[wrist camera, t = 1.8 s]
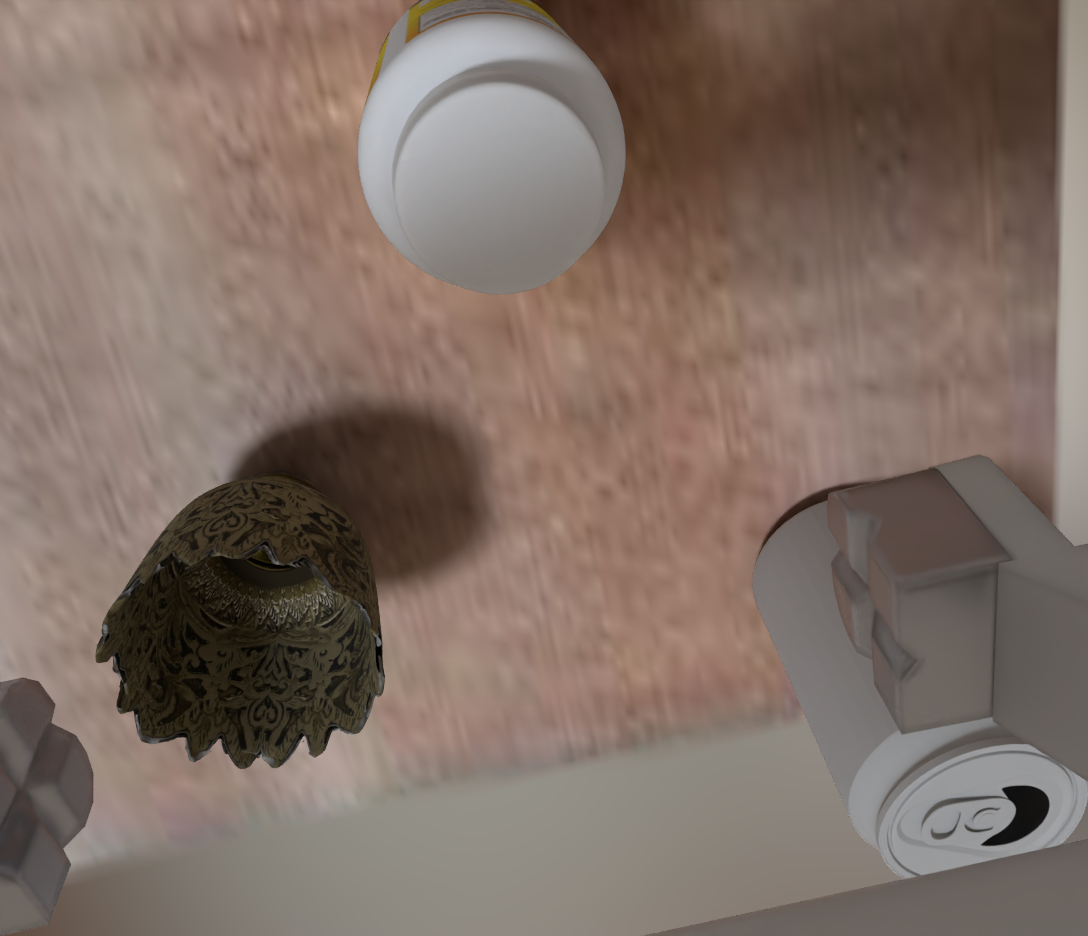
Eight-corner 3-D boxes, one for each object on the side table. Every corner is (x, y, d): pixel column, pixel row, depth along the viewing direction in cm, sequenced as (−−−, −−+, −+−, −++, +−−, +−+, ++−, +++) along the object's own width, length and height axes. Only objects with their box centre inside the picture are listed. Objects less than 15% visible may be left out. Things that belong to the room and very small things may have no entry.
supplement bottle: (468, 233, 29) (483, 388, 20) (330, 79, 27) (281, 180, 18) (619, 105, 28) (706, 211, 19) (488, -71, 25) (519, -42, 16)
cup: (144, 415, 31) (63, 569, 24) (383, 404, 32) (368, 551, 25) (189, 604, 35) (129, 782, 28) (401, 591, 35) (393, 762, 29)
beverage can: (896, 622, 39) (1065, 893, 28) (734, 629, 38) (847, 909, 28) (934, 481, 35) (1140, 730, 25) (757, 486, 35) (894, 744, 24)
